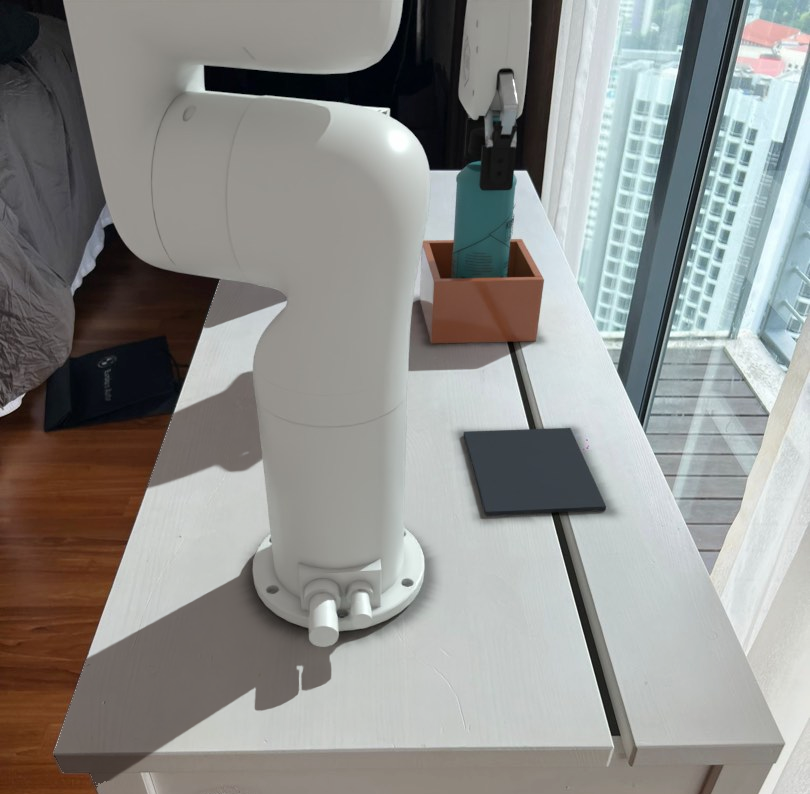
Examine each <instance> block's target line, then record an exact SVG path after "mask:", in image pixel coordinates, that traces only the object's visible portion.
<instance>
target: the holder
mask: <svg viewBox="0 0 810 794" xmlns="http://www.w3.org/2000/svg"><path fill="white" fill-rule="evenodd" d="M511 241H512V242H511ZM453 244H454V239H438V240H437V239H435V240H433V239H432V240H428V239H427V240H423V245H422V250H421V255H420V274H419V275H420V279H419V280H420V281H419V301H420V304H421V310H422V313H423V318H424V322H425V325H426V328H427V333H428V337H429V340H430V343H431V344H434V345H435V344H437V345H438V344H467V343H468V344H471V343H505V342H506V343H507V342H536V341H537V337H538V330H539V323H540V314H541V308H542V307H541V306H542V299H543V291H544V285H545V284H544V283H545V279H544V277H543V275H542V273H541V271H540V269H539V268H538V266H537V264H536V262H535V260H534V258H533V256H532V255H531V253H530V252H529V250H528V248H527V245H526V244H525V242H524V240H523V239H522V238H511V239H510V248H511V249H509V254H510V261H509V259H508V261H509V262H508V267H509V272H508V269H507V277H505V278H455V279H450V278H451V269H452V264H451V263H452V255H451V254H452V253H453ZM450 265H451V266H450Z"/></svg>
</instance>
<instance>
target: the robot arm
mask: <svg viewBox="0 0 810 794" xmlns="http://www.w3.org/2000/svg"><path fill="white" fill-rule="evenodd" d="M62 2H63V7H64V12H65V18H66V22H67V28H68V32H69V36H70V41H71V46H72V51H73V55H74V60H75V65H76V69H77V74H78V79H79V85H80V88H81V93H82V98H83V99H82V100H83V102H84V107H85V112H86V117H87V122H88V127H89V131H90V136H91V141H92V146H93V150H94V155H95V156H94V157H95V160H96V165H97V170H98V174H99V178H100V182H101V187H102V191H103V195H104V198H105V203H106V206H107V209H108V211H109V214H110V217H111V220H112V222H113V225H114V227H115V229H116V231H117V234H118V235H119V236H120V239H121V240H122V242H123V243H124V244H125V247H127V248H128V249H129V250H130V251H131V252H132V253H133V254H134V255H135V256H136V257H137V258H139V260H141V261H143V262H144V263H147V264H148V265H150V266H153V267H154V268H155V267H156V268H159V269H161V270H166V271H170V272H175V273H178V274H179V273H180V274H187V275H193V276H199V277H205V278H213V279H218V280H219V279H221V280H225V281H226V280H227V281H233V282H240V283H247V284H252V285H255V286H258V287H265V288H269V289H274V290H276V291H279V292H281V293H282V294H284V296H285V297H286V303H285V306H284V308H282V309H281V310H280V312H278V314H276V316H274V318H273V319H272V320H271V321H270V323H269V324H268V325H267V326H266V327H265V329H264V330H263V332H262V334H261V336H260V337H259V339H258V341H257V343H256V346H255V351H254V353H253V358H252V360H253V361H252V380H253V387H254V395H255V402H256V410H257V421H258V422H257V423H258V430H259V431H258V432H259V438H260V439H259V440H260V448H261V457H262V466H263V467H262V468H263V477H264V485H265V494H266V503H267V505H266V506H267V513H268V522H269V523H268V524H269V531H270V533H269V534H268V535H266V536H265V537H264V539H262V540H261V541H262V542H261V543H260V545H259V546H258V547H257V549H256V551H255V554H254V557H253V560H252V579H253V585H254V587H255V590H256V593H257V595H258V597H259V598H260V600H261V601H262V603H263V604H264V605H265V606H266V607H267V608H268V609H269V610H270V611H271V612H272V613H274V614H275V615H276V616H278V617H280V618H282V620H285V621H287V622H289V623H291V624H294V625H296V626H300V627H303V628H306V629H308V640H309V641H308V642H310V643H311V644H312V645H313V646H316V647H318V648H327V647H329V646H330V647H331V646H333V645H334V644H335V643H337V642H338V640H339V637H340V635H339V634H340V633H339V632H344V631H345V632H347V631H356V630H360V629H361V630H362V629H367V628H369V627H373V626H376V625H379V624H381V623H383V622H386V621H388V620H389V619H392V618H393V617H395V616H397V615H398V614H400V613H402V611H403V610H405V609H406V608H407V607H408V606H410V605H411V604H412V603H413V601H414V600H415V599H416V597H417V595H418V594H419V593H420V592H421V591H420V590H421V588H422V586H423V584H424V577H425V569H426V568H425V556H424V553H423V550H422V549H423V548H422V546H421V545H420V543H419V542H418V540H417V538H416V537H415V536H414V535H413V534H412V533H411V532H410V530H408V529H407V528H406V527H405V513H406V511H405V509H406V507H405V505H406V502H405V501H406V469H407V467H406V466H407V464H406V463H407V428H408V427H407V425H408V423H407V422H408V390H409V362H410V361H409V358H410V342H411V341H410V339H411V337H410V336H411V325H412V324H411V323H412V313H413V303H414V297H415V289H416V283H417V282H416V281H417V277H418V271H419V266H420V261H421V250H422V245H423V241H425V240H424V239H425V234H426V229H427V228H426V227H427V225H428V224H427V223H428V219H429V218H428V217H429V211H430V204H431V203H430V202H431V181H432V179H431V171H430V165H429V160H428V157H427V155H426V152H425V149H424V147H423V145H422V144H421V142H420V140H419V139H418V137H416V136H415V134H414V133H413V132H412V131H411V130H410V129H409V128H408V127H407V126H405V125H404V124H403V123H401V122H400V121H398V120H397V119H395V118H393V117H392V116H391V115H390V116H388V115H385V114H383V113H381V112H378V111H375V110H371V109H368V108H365V107H361V106H362V105H358V104H357V105H358V106H357V105H356V104H350V103H345V102H340V101H338V102H337V101H327V100H317V99H308V98H307V99H306V98H298V97H297V98H296V97H286V96H275V95H267V94H265V95H255V94H245V93H244V94H242V93H233V92H222V91H213V90H212V91H211V90H206V87H205V66H209V67H224V68H234V69H245V70H258V71H267V72H276V73H277V72H278V73H289V74H290V73H291V74H292V73H293V74H307V75H308V74H309V75H311V74H312V75H331V74H333V75H334V74H348V73H353V72H357V71H363V70H365V69H367V68H370V67H371V66H373V65H375V64H377V63H379V62H381V60H382V59H383V57H384V56H385V55H386V54H387V53H388V52H389V51H390V49H391V47H392V45H394V42H395V40H396V37H397V35H398V31H399V28H400V24H401V18H402V13H403V4H404V0H62ZM532 4H533V0H466V6H465V16H464V23H463V24H464V25H463V35H462V46H461V58H460V70H459V79H458V80H459V81H458V99H459V101H460V103H461V105H462V107H463V109H464V111H466V113H467V118H466V121H465V137H464V139H465V140H464V153H463V154H464V159H465V161H469V162H477V161H481V167H480V181H479V186H480V189H481V190H483V191H494V190H510V189H512V186H513V176H514V175H515V165H516V154H517V141H518V139H517V138H518V137H517V131H518V129H517V127H518V124H517V119H519V118H520V117H521V116H522V115H523V109H524V103H525V95H526V88H527V87H526V86H527V79H528V66H529V55H530V54H529V52H530V43H531V42H530V41H531V27H532V6H533V5H532ZM483 127H485V141H486V145H482V153H481V157H477V156H473V155H471V154H469V153H468V147H469V142H470V135H471V131H472V130H474V129H476V128H483ZM493 128H494V131H493Z"/></svg>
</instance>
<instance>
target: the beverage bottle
mask: <svg viewBox="0 0 810 794" xmlns="http://www.w3.org/2000/svg"><path fill="white" fill-rule="evenodd" d="M493 131H494V128H493ZM482 145H486V141H485V127H483V128H476V129H474V130H472V131H471V135H470V142H469V147H468V153H469V154H471V155H473V156H477V157H481V153H482ZM480 167H481V161H471V163H468V164H467V165H466V166H465V167H463V168H462V169H461V170H460V171H459V172H458V174H457V175H456V178H455V182H456V189H455V207H454V208H455V210H454V228H453V240H454V244H453V253H452V254H451V255H452V263H451V264H452V269H451V278H450V279H455V278H505V277H507V269H508V272H509V267H508V262H509V261H510V254H509V249H511V248H510V239H512V236H513V231H514V226H513V225H514V223H515V213H514V209H515V207H516V205H515V196H516V195H515V194H516V186H517V181H518V180H517V176H516V175H515V174H514V176H513V186H512V189H510V190H494V191H483V190H481V189H480V186H479V181H480ZM511 242H512V241H511ZM508 259H509V261H508ZM450 266H451V265H450Z"/></svg>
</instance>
